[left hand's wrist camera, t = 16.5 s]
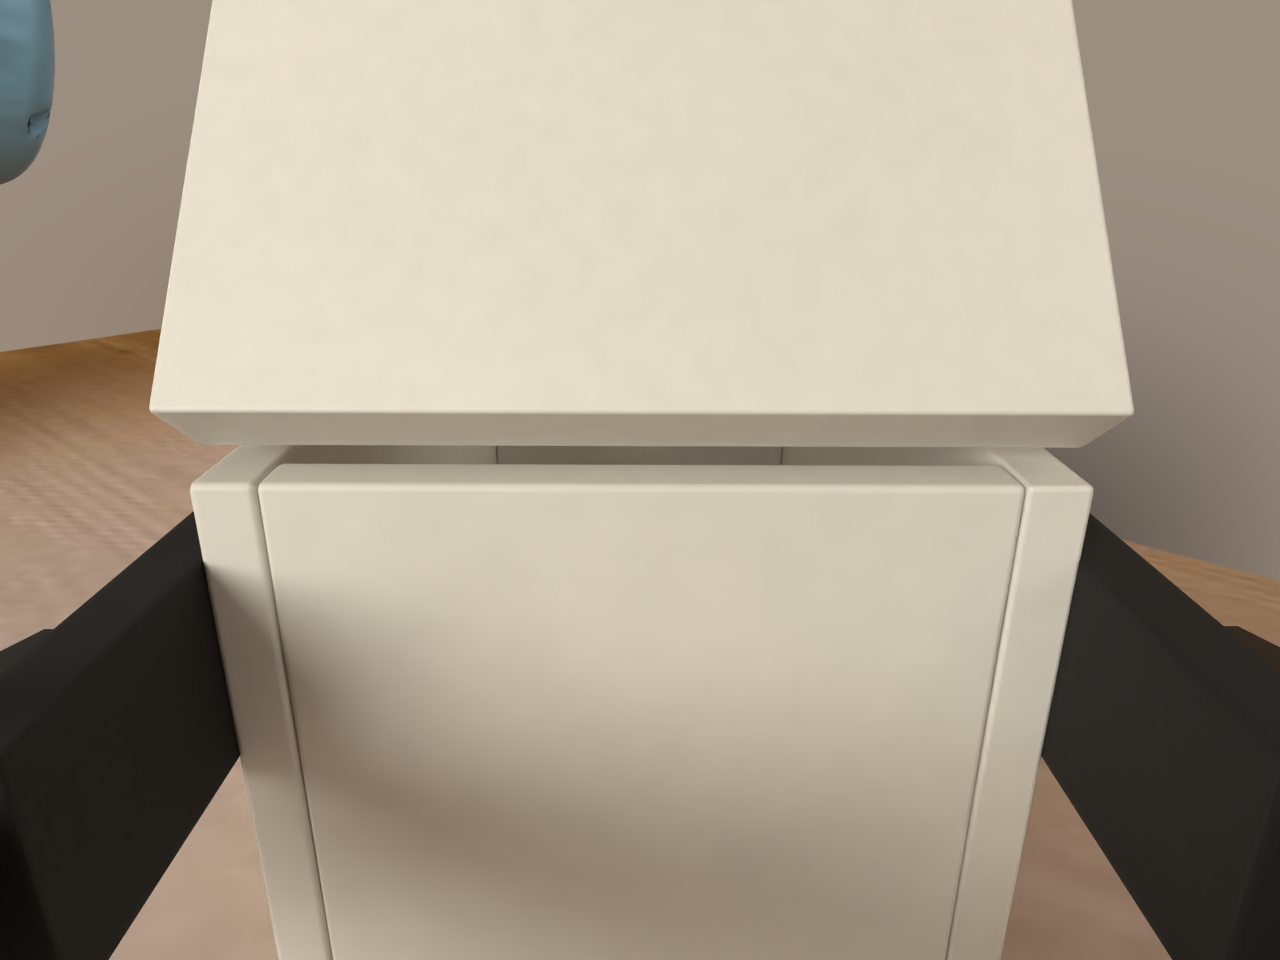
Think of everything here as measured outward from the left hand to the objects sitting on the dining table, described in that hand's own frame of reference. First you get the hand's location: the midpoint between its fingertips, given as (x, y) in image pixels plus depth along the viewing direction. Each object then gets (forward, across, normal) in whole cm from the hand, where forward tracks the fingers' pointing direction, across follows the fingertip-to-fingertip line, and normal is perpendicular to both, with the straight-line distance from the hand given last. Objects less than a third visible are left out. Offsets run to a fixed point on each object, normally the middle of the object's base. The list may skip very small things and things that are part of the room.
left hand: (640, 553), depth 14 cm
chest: (+5, 0, -7) cm, 9 cm away
